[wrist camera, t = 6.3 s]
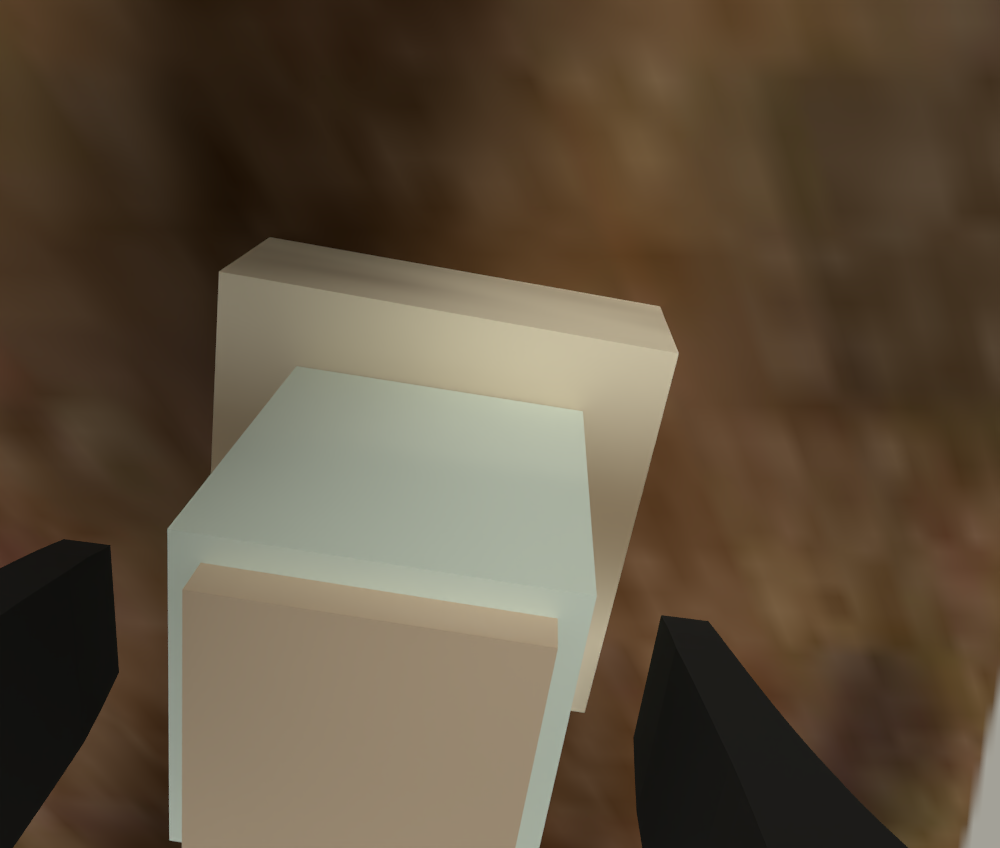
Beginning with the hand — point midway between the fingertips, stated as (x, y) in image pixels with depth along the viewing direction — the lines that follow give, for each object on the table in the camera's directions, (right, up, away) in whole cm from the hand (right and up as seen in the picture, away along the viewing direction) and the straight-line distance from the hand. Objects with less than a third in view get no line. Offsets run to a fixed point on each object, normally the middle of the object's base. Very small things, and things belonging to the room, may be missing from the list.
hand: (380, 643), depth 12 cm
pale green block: (0, +1, +3) cm, 3 cm away
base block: (0, +3, +6) cm, 6 cm away
